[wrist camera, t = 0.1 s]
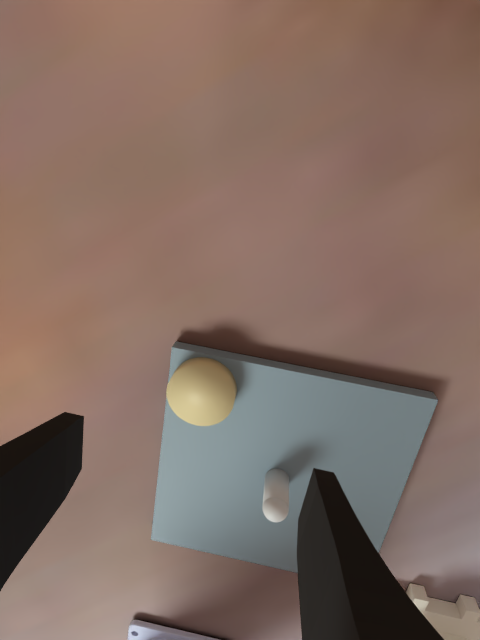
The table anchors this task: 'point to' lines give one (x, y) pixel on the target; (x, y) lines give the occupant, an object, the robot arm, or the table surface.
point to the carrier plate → (276, 451)
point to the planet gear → (448, 614)
